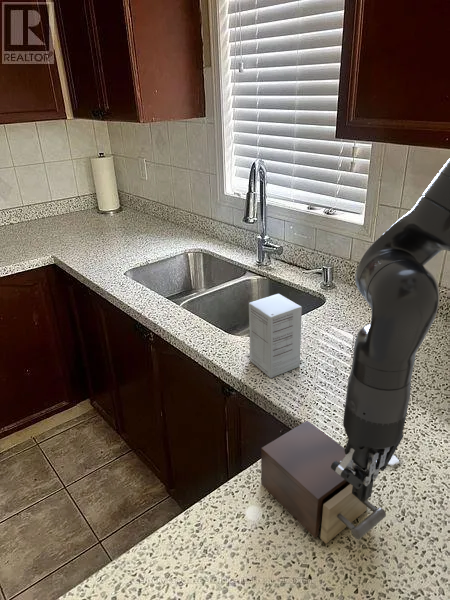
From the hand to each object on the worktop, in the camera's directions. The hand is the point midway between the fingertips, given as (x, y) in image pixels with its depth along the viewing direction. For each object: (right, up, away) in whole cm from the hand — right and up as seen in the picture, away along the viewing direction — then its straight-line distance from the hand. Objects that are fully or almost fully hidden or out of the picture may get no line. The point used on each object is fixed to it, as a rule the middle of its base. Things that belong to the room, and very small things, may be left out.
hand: (361, 495), depth 65 cm
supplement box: (-7, +12, +48) cm, 50 cm away
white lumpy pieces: (+8, -2, +19) cm, 21 cm away
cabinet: (-5, -6, +12) cm, 14 cm away
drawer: (-3, -6, +8) cm, 11 cm away
